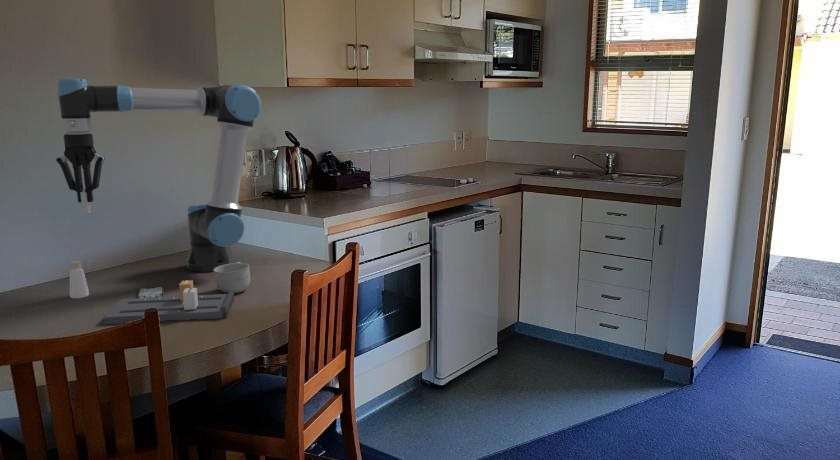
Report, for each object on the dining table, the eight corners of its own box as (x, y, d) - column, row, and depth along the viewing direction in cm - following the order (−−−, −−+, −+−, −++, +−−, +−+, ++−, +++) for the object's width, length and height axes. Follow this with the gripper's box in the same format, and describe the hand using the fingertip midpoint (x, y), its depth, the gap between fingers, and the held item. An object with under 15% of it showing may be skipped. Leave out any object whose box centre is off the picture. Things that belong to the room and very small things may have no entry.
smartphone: (135, 304, 189) (138, 288, 203) (136, 308, 190) (138, 292, 203) (162, 301, 192) (163, 286, 206) (163, 305, 192) (163, 289, 206)
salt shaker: (65, 297, 197) (61, 262, 195) (80, 292, 202) (76, 258, 200) (78, 299, 196) (74, 264, 193) (93, 294, 200) (89, 260, 198)
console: (122, 305, 190) (121, 295, 189) (234, 299, 194) (233, 289, 193) (104, 324, 174) (103, 313, 173) (226, 317, 179) (225, 306, 178)
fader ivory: (187, 305, 182) (185, 288, 181) (198, 304, 183) (196, 287, 182) (184, 309, 178) (182, 292, 177) (195, 309, 179) (194, 291, 178)
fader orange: (183, 297, 190) (182, 280, 189) (194, 296, 190) (192, 280, 189) (180, 301, 186) (179, 284, 185) (191, 300, 186) (190, 283, 185)
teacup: (241, 297, 197) (239, 272, 195) (208, 295, 199) (206, 270, 197) (261, 284, 210) (259, 260, 209) (230, 282, 212) (228, 258, 211)
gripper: (48, 134, 182) (58, 216, 187) (97, 133, 184) (106, 214, 189) (59, 132, 189) (68, 211, 194) (105, 132, 191) (114, 210, 196)
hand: (87, 213), depth 191 cm, fingers closed
